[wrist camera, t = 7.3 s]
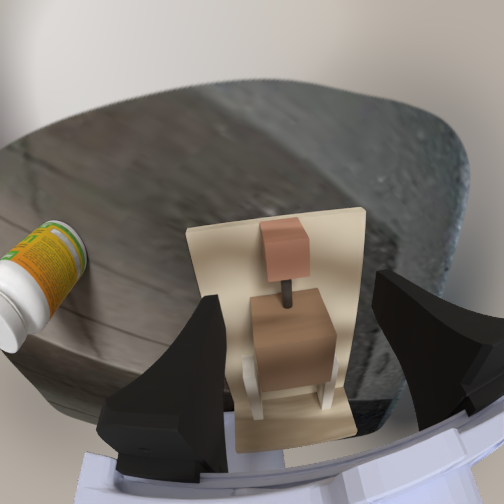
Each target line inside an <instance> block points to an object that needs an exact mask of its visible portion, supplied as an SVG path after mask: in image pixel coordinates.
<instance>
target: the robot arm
mask: <svg viewBox="0 0 504 504" xmlns="http://www.w3.org/2000/svg"><path fill="white" fill-rule="evenodd" d="M372 309H373V311H374V314H375V317H376V319H377V321H378V324H379V326H380V327H381V329H382V331H383V333H384V335H385V336H386V338H387V340H388V342H389V343H390V345H391V347H392V349H393V351H394V353H395V354H396V356H397V358H398V360H399V362H400V364H401V367H402V369H403V372H404V375H405V377H406V380H407V383H408V386H409V390H410V393H411V396H412V399H413V404H414V408H415V412H416V416H417V422H418V427H419V432H418V433H415V434H413V435H410V436H408V437H405V438H402V439H400V440H397V441H395V442H392V443H389V444H386V445H383V446H380V447H377V448H374V449H371V450H367V451H364V452H360V453H357V454H353V455H349V456H346V457H342V458H337V459H333V460H329V461H324V462H319V463H314V464H309V465H303V466H297V467H291V468H285V463H284V455H283V449H282V450H274V451H265V452H254V453H240V454H237V452H236V451H235V411H233V412H224V407H223V389H224V377H225V365H226V353H227V337H226V326H225V322H224V318H223V314H222V310H221V305H220V301H219V297H218V294H215V295H206V296H204V297H203V298H202V299H201V301H200V303H199V305H198V306H197V308H196V310H195V311H194V313H193V315H192V316H191V318H190V319H189V321H188V323H187V324H186V326H185V327H184V329H183V330H182V331H181V333H180V334H179V335H178V337H177V338H176V340H175V341H174V342H173V343H172V345H171V346H170V347H169V348H168V349H167V351H166V352H165V353H164V354H163V355H162V356H161V357H160V358H159V359H158V360H157V361H156V362H155V363H154V364H153V365H152V366H151V367H150V368H149V369H148V370H146V371H145V372H144V373H143V374H142V375H141V376H139V377H138V378H137V379H135V380H134V381H133V382H131V383H130V384H129V385H127V386H126V387H124V388H123V389H121V390H120V391H118V392H116V393H115V394H113V395H112V396H110V397H108V398H106V399H105V402H104V404H103V407H102V410H101V413H100V417H99V420H98V424H97V428H96V431H97V433H98V435H99V436H100V437H101V438H102V439H103V440H104V441H105V442H106V443H107V444H108V445H110V446H111V447H112V448H113V449H115V450H116V451H117V452H118V453H119V454H118V459H115V458H112V457H108V456H105V455H100V454H95V453H91V452H85V455H84V459H83V463H82V467H81V472H80V476H79V480H78V485H77V489H76V495H75V500H74V503H75V504H483V502H482V499H481V496H480V493H479V490H478V488H477V485H476V482H475V479H474V477H473V474H472V472H471V469H470V467H472V466H473V465H475V464H476V463H478V462H479V461H481V460H482V459H484V458H485V457H486V456H488V455H489V454H491V453H492V452H493V451H495V450H496V449H497V448H499V447H500V446H501V445H502V444H503V443H504V318H497V317H492V316H488V315H483V314H480V313H476V312H473V311H470V310H467V309H464V308H462V307H459V306H456V305H454V304H452V303H450V302H447V301H445V300H443V299H441V298H439V297H437V296H435V295H433V294H431V293H429V292H428V291H426V290H424V289H422V288H421V287H419V286H417V285H415V284H414V283H412V282H410V281H409V280H407V279H405V278H404V277H402V276H400V275H398V274H397V273H395V272H393V271H391V270H389V269H386V270H380V271H377V272H376V280H375V287H374V293H373V300H372Z"/></svg>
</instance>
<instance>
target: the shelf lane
mask: <svg viewBox="0 0 504 504" xmlns="http://www.w3.org/2000/svg"><path fill="white" fill-rule="evenodd" d="M293 217H298V219H299V221H300V222H301V224H302V226H303V228H304V230H305V231H306V233H307V235H308V237H309V240H310V276H309V277H302V278H295V279H292V291H299V290H306V289H312V288H318V289H319V292H320V294H321V297H322V299H323V301H324V304H325V306H326V309H327V311H328V313H329V316H330V318H331V321H332V323H333V326H334V328H335V331H336V333H337V340H336V348H335V356H334V363H333V370H332V377H331V381H330V382H325V383H320V384H315V385H309V386H303V387H297V388H291V389H284V390H277V391H270V392H262V389H261V383H260V377H259V372H258V366H257V360H256V355H255V349H254V338H253V326H252V314H251V302H250V297H255V296H263V295H271V294H278V293H282V292H281V281H274V282H269V281H268V276H267V271H266V265H265V260H264V254H263V246H262V237H261V228H260V222H261V221H269V220H277V219H285V218H293ZM365 218H366V211H365V210H364V209H363V208H362V207H356V208H346V209H336V210H327V211H317V212H308V213H299V214H291V215H282V216H274V217H266V218H258V219H251V220H243V221H236V222H228V223H221V224H214V225H207V226H200V227H193V228H187V231H186V238H187V242H188V246H189V250H190V254H191V258H192V262H193V266H194V270H195V274H196V278H197V282H198V285H199V289H200V293H201V296H202V298H203V297H204V296H206V295H215V294H218V297H219V301H220V305H221V310H222V314H223V318H224V322H225V326H226V337H227V353H226V365H225V377H226V380H227V383H228V386H229V389H230V392H231V395H232V398H233V400H234V411H235V451H236V452H237V454H240V453H254V452H265V451H274V450H282V449H289V448H295V447H302V446H307V445H313V444H318V443H322V442H328V441H332V440H337V439H341V438H345V437H349V436H353V435H356V433H357V429H356V425H355V422H354V419H353V416H352V413H351V409H350V406H349V403H348V400H347V397H346V394H345V391H344V388H343V384H344V380H345V375H346V371H347V366H348V361H349V355H350V350H351V345H352V339H353V333H354V327H355V320H356V313H357V306H358V299H359V291H360V282H361V273H362V262H363V250H364V236H365Z"/></svg>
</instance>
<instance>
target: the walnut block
mask: <svg viewBox="0 0 504 504" xmlns="http://www.w3.org/2000/svg"><path fill="white" fill-rule="evenodd" d="M260 228H261V237H262V246H263V254H264V260H265V265H266V271H267V276H268V281H269V282H274V281H281V292H282V293H278V294H271V295H263V296H255V297H250V302H251V314H252V326H253V338H254V349H255V355H256V360H257V366H258V372H259V377H260V383H261V389H262V392H270V391H277V390H284V389H291V388H297V387H303V386H309V385H315V384H320V383H325V382H330V381H331V377H332V370H333V363H334V356H335V348H336V340H337V333H336V331H335V328H334V326H333V323H332V321H331V318H330V316H329V313H328V311H327V309H326V306H325V304H324V301H323V299H322V297H321V294H320V292H319V289H318V288H312V289H306V290H299V291H292V279H295V278H302V277H309V276H310V240H309V237H308V235H307V233H306V231H305V230H304V228H303V226H302V224H301V222H300V221H299V219H298V217H293V218H285V219H277V220H269V221H261V222H260Z"/></svg>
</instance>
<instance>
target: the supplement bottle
mask: <svg viewBox="0 0 504 504" xmlns="http://www.w3.org/2000/svg"><path fill="white" fill-rule="evenodd" d="M86 263H87V255H86V250H85V247H84V244H83V242H82V240H81V238H80V237H79V235H78V234H77V233H76V232H75V231H74V230H73V229H72V228H71V227H70V226H68V225H67V224H65V223H63V222H60V221H48V222H46V223H44V224H42V225H41V226H40V227H38V228H37V229H36V230H35V231H33V232H32V233H31V234H30V235H28V236H27V237H26V238H25V239H24V240H22V241H21V242H20V243H19V244H18V245H16V246H15V247H14V248H13V249H12V250H10V251H9V252H8V253H7V254H6V255H5V256H4V257H3V258H1V259H0V348H1V349H2V350H4V351H6V352H9V353H15V352H17V351H18V349H19V348H20V346H21V345H22V344H23V342H24V341H25V339H26V336H27V334H36V333H39V332H40V331H42V330H43V329H44V328H45V326H46V325H47V324H48V322H49V321H50V319H51V318H52V316H53V315H54V313H55V312H56V310H57V309H58V307H59V306H60V304H61V303H62V302H63V300H64V299H65V297H66V296H67V295H68V293H69V292H70V291H71V289H72V288H73V287H74V285H75V284H76V282H77V281H78V280H79V279H80V277H81V276H82V274H83V273H84V271H85V268H86Z"/></svg>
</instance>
